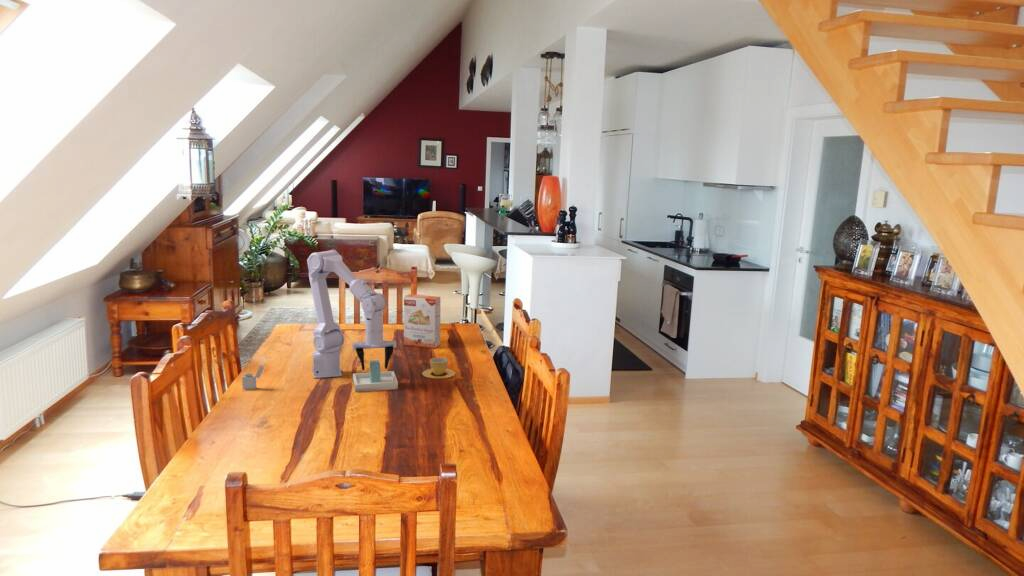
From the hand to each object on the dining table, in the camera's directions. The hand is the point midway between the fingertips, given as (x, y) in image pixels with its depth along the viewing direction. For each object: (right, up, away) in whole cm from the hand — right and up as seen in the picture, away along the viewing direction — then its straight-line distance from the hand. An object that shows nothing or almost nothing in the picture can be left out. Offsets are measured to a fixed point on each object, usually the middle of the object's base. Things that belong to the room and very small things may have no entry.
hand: (374, 368), depth 237 cm
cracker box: (+10, +3, +50) cm, 51 cm away
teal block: (0, -5, 0) cm, 5 cm away
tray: (0, -6, +1) cm, 6 cm away
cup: (+20, -4, +15) cm, 25 cm away
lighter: (-39, -6, -5) cm, 40 cm away
